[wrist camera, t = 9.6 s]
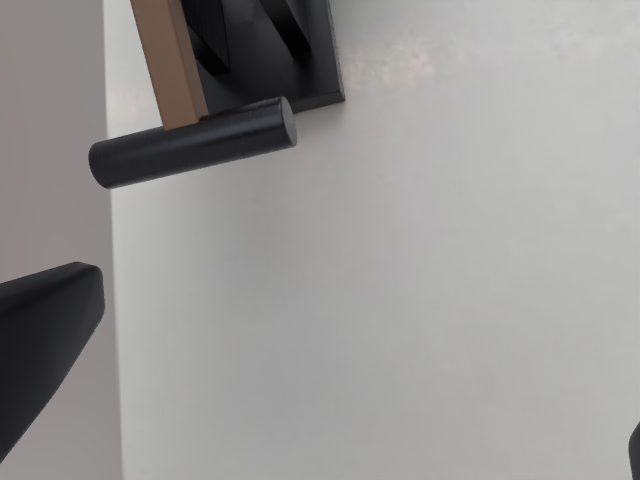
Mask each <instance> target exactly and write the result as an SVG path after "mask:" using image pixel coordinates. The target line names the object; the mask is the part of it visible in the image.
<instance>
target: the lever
mask: <svg viewBox="0 0 640 480" xmlns="http://www.w3.org/2000/svg"><path fill="white" fill-rule="evenodd" d="M130 2H131V5H132V9H133V13H134V17H135V21H136V25H137V28H138V32H139V36H140V40H141V44H142V47H143V51H144V55H145V59H146V63H147V66H148V70H149V74H150V78H151V82H152V85H153V89H154V93H155V97H156V101H157V104H158V108H159V112H160V116H161V120H162V123H163V126H160V127H157V128H153V129H149V130H145V131H141V132H137V133H133V134H129V135H125V136H121V137H117V138H113V139H109V140H105V141H101V142H98V143H95V144H94V145H92V147H91V148H90V151H89V165H90V169H91V172H92V174H93V176H94V178H95V179H96V181H97V182H98V183H99V184H100V185H101V186H102V187H104V188H107V189H114V188H118V187H123V186H127V185H131V184H136V183H140V182H144V181H149V180H153V179H157V178H162V177H166V176H170V175H175V174H179V173H183V172H188V171H192V170H196V169H201V168H205V167H209V166H214V165H218V164H222V163H227V162H231V161H235V160H240V159H244V158H248V157H253V156H257V155H261V154H266V153H270V152H274V151H279V150H283V149H287V148H292V147H294V146H296V143H297V130H296V124H295V120H294V116H293V113H292V110H291V107H290V105H289V103H288V101H287V99H286V98H285V97H284V96H279V97H275V98H271V99H267V100H263V101H259V102H255V103H251V104H247V105H243V106H239V107H235V108H231V109H227V110H224V111H220V112H216V113H212V114H208V110H207V106H206V102H205V98H204V94H203V90H202V86H201V82H200V78H199V74H198V70H197V66H196V62H195V57H194V53H193V49H192V45H191V41H190V37H189V33H188V29H187V25H186V21H185V17H184V13H183V9H182V5H181V1H180V0H130Z"/></svg>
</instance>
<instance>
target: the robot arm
mask: <svg viewBox="0 0 640 480" xmlns="http://www.w3.org/2000/svg"><path fill="white" fill-rule="evenodd" d="M104 310H105V299H104V288H103V275H102V271H101V269H100V268H99V267H97V266H94V265H90V264H86V263H82V262H73V263H69V264H66V265H62V266H59V267H56V268H52V269H49V270H45V271H42V272H38V273H35V274H32V275H28V276H25V277H22V278H18V279H15V280H11V281H8V282H4V283H1V284H0V463H1V462H2V461H3V460H4V458H5V457H6V456H7V454H8V453H9V452H10V451H11V449H12V448H13V447H14V446H15V444H16V443H17V442H18V440H19V439H20V438H21V437H22V435H23V434H24V433H25V431H26V430H27V429H28V428H29V426H30V425H31V424H32V422H33V421H34V420H35V418H36V417H37V416H38V415H39V413H40V412H41V411H42V410H43V408H44V407H45V406H46V404H47V403H48V402H49V400H50V399H51V398H52V396H53V395H54V393H55V392H56V391H57V389H58V388H59V386H60V385H61V383H62V382H63V380H64V379H65V377H66V376H67V374H68V372H69V371H70V369H71V368H72V366H73V364H74V363H75V361H76V360H77V358H78V356H79V355H80V353H81V352H82V350H83V348H84V347H85V345H86V343H87V342H88V340H89V339H90V337H91V335H92V334H93V332H94V331H95V329H96V327H97V326H98V324H99V323H100V321H101V319H102V317H103V314H104ZM629 458H630V465H631V471H632V477H633V480H640V422H639V423H638V425H637V427H636V428H635V430H634V432H633V433H632V435H631V437H630V441H629Z"/></svg>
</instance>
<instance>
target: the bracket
mask: <svg viewBox="0 0 640 480" xmlns="http://www.w3.org/2000/svg"><path fill="white" fill-rule="evenodd" d="M180 1H181V5H182V9H183V13H184V17H185V21H186V25H187V29H188V33H189V37H190V41H191V45H192V49H193V53H194V57H195V62H196V66H197V70H198V74H199V78H200V82H201V86H202V90H203V94H204V98H205V102H206V106H207V110H208V114H212V113H216V112H220V111H224V110H227V109H231V108H235V107H239V106H243V105H247V104H251V103H255V102H259V101H263V100H267V99H271V98H275V97H279V96H284V97H285V98H286V99H287V101H288V103H289V105H290V107H291V110H292V113H297V112H301V111H305V110H309V109H314V108H318V107H322V106H326V105H330V104H334V103H338V102H342V101H345V95H344V89H343V83H342V77H341V71H340V65H339V59H338V53H337V47H336V41H335V35H334V29H333V23H332V17H331V11H330V5H329V0H180Z"/></svg>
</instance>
